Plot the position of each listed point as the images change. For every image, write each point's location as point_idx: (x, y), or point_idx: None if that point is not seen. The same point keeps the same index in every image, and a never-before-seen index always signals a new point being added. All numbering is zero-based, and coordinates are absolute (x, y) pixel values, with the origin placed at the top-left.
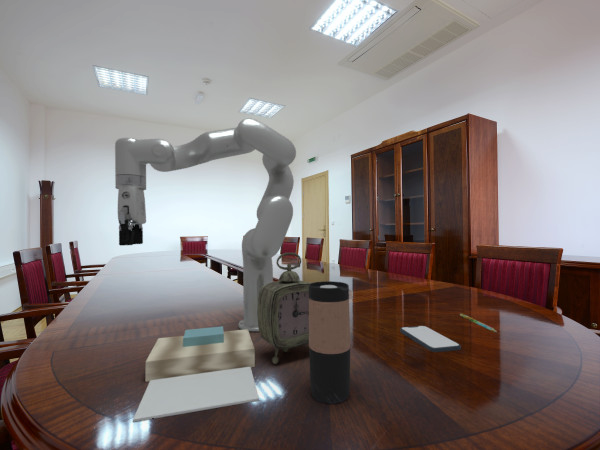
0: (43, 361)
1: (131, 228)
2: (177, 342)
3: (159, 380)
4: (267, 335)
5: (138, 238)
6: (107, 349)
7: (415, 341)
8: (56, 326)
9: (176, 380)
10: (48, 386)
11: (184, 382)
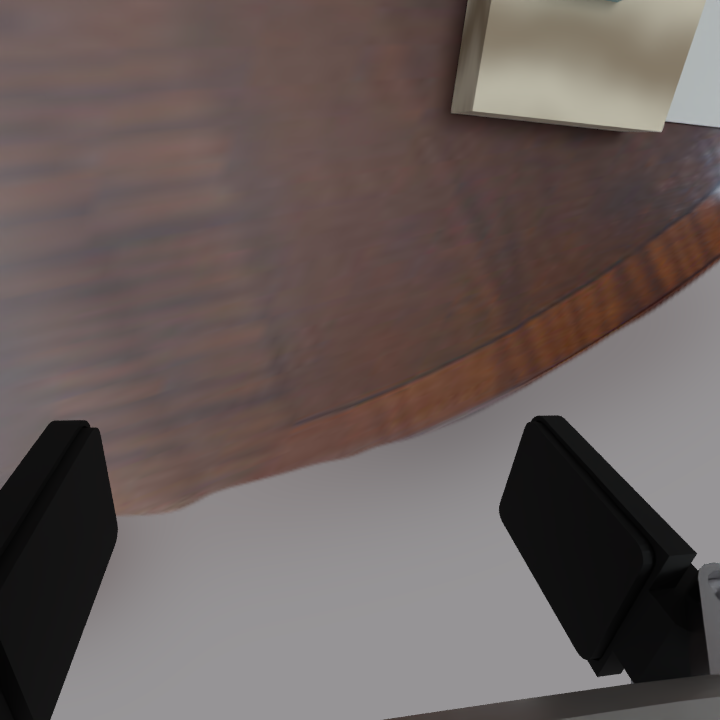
0: (361, 416)
1: (711, 588)
2: (558, 26)
3: None
4: None
5: (74, 517)
6: (330, 291)
7: None
8: None
9: None
10: (518, 344)
11: (707, 14)
